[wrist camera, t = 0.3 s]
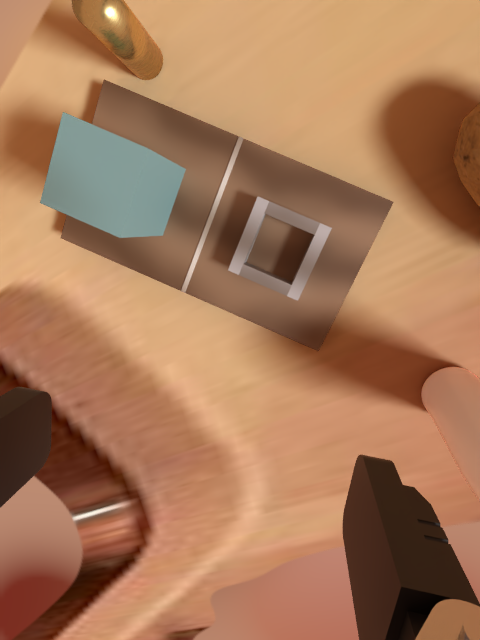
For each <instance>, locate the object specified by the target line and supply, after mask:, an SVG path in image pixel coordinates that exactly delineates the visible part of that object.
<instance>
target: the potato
mask: <svg viewBox="0 0 480 640" xmlns="http://www.w3.org/2000/svg"><path fill="white" fill-rule="evenodd" d="M453 160H454V163H455V166H456V169H457V172H458V175H459V178H460V181H461V182H462V184H463V185H464V187H465V188H466V189H467V191H468V192H469V194H470V195H471V197H472V198H473V199H474V201H475V202H476V203H477V205H478V206H479V207H480V103H479V104H478V105H477V106H476V107H475V108H474V109H473V110H472V111H471V112H470V113H469V114H468V115H467V116H466V117H465V118H464V119H463V121H462V124H461V126H460V129H459V133H458V138H457V142H456V146H455V151H454V155H453Z"/></svg>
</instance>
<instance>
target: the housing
mask: <svg viewBox="0 0 480 640" xmlns="http://www.w3.org/2000/svg"><path fill="white" fill-rule="evenodd" d="M185 170H186V169H185V168H183V167H181V166H179V165H177V164H176V163H174V162H172V161H170V160H168V159H166V158H165V157H163V156H161V155H159V154H157V153H156V152H154V151H152V150H150V149H148V148H146V147H144V146H141V145H139V144H137V143H134V142H132V141H130V140H127V139H125V138H123V137H120V136H118V135H116V134H113V133H111V132H109V131H106V130H104V129H102V128H99V127H97V126H95V125H92V124H90V123H88V122H85V121H83V120H81V119H78V118H76V117H74V116H71V115H69V114H67V113H64V112H63V114H62V118H61V122H60V126H59V130H58V134H57V138H56V142H55V146H54V150H53V154H52V158H51V162H50V166H49V170H48V174H47V178H46V182H45V185H44V189H43V193H42V197H41V201H40V203H41V204H44V205H46V206H48V207H50V208H53V209H55V210H57V211H60V212H62V213H64V214H66V215H69V216H71V217H73V218H76V219H78V220H80V221H83V222H85V223H87V224H89V225H92V226H94V227H96V228H99V229H101V230H103V231H105V232H108V233H110V234H112V235H115V236H117V237H119V238H128V237H147V236H163V234H164V231H165V228H166V225H167V222H168V219H169V216H170V214H171V211H172V208H173V205H174V202H175V199H176V196H177V193H178V190H179V188H180V185H181V182H182V179H183V176H184V173H185Z"/></svg>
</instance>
